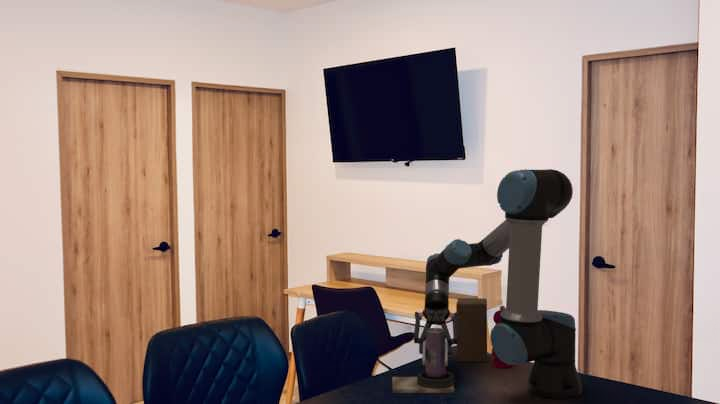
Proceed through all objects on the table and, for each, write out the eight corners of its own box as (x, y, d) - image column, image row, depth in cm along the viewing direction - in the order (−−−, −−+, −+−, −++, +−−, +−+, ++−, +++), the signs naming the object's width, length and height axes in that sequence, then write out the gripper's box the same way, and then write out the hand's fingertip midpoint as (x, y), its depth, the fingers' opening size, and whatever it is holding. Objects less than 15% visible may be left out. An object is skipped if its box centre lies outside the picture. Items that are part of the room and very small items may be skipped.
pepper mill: (487, 365, 224) (486, 305, 223) (500, 361, 228) (500, 302, 228) (505, 370, 218) (504, 308, 217) (518, 365, 223) (518, 305, 222)
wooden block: (486, 362, 227) (486, 303, 226) (456, 361, 229) (456, 303, 228) (487, 354, 237) (486, 298, 236) (458, 353, 239) (457, 297, 238)
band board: (451, 380, 209) (451, 369, 209) (455, 392, 197) (455, 381, 197) (392, 380, 209) (392, 369, 209) (392, 392, 198) (392, 381, 197)
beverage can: (449, 377, 204) (448, 328, 203) (440, 383, 199) (440, 332, 198) (431, 375, 207) (430, 326, 206) (422, 380, 202) (421, 330, 201)
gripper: (466, 304, 216) (467, 370, 200) (408, 304, 219) (404, 368, 203) (466, 291, 210) (467, 357, 195) (406, 290, 213) (402, 356, 198)
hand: (435, 363), depth 199 cm, fingers closed on beverage can, 6 cm apart
